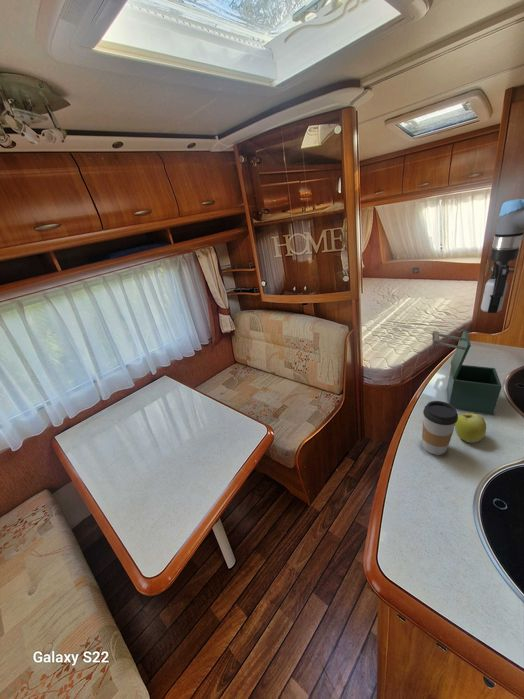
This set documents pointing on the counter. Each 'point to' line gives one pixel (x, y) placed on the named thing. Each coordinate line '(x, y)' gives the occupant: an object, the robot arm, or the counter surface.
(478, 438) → the apple
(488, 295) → the beverage can
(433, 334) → the bin lid
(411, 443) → the counter surface
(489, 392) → the waste bin
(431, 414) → the coffee cup
